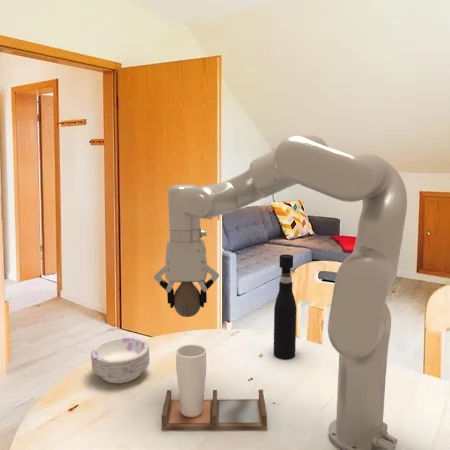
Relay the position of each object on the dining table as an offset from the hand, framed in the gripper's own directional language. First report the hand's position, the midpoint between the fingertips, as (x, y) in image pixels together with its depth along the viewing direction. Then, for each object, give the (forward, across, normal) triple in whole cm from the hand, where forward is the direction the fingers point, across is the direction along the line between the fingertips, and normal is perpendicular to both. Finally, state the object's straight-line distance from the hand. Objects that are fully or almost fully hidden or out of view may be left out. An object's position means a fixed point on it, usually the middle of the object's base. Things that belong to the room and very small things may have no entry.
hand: (187, 305), depth 121 cm
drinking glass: (+21, -1, +13) cm, 25 cm away
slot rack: (+22, -6, +13) cm, 27 cm away
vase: (+3, 0, 0) cm, 3 cm away
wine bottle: (+23, -27, -19) cm, 40 cm away
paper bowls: (+22, +19, -7) cm, 30 cm away
